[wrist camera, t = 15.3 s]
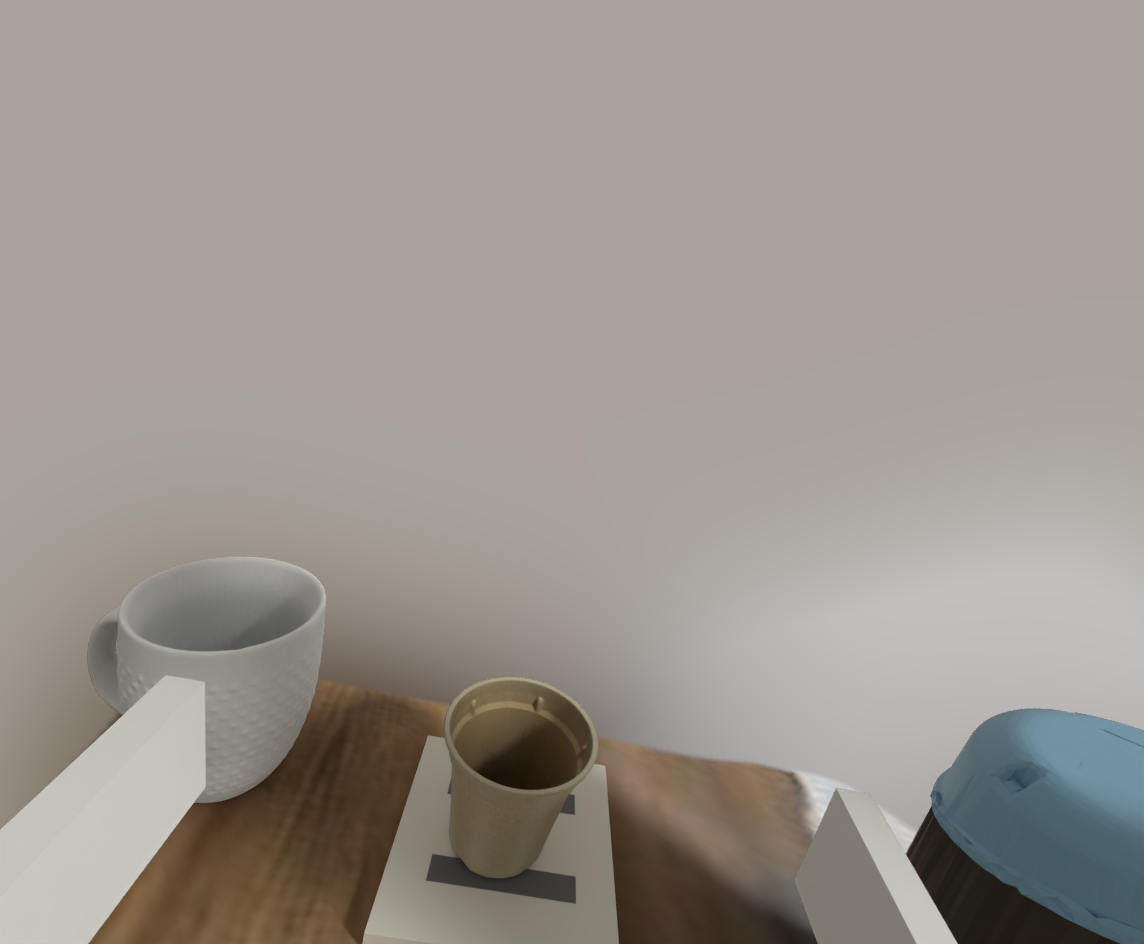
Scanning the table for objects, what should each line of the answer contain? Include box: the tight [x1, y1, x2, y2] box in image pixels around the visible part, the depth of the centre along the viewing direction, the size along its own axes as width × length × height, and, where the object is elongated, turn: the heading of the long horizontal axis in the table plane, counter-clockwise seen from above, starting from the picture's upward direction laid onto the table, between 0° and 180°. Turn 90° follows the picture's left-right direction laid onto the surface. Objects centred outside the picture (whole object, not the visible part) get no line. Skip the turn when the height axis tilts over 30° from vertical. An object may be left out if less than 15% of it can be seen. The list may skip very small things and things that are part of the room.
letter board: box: [363, 735, 619, 944], centre depth 37 cm, size 14×14×1 cm
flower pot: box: [444, 677, 598, 878], centre depth 35 cm, size 9×9×9 cm
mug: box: [87, 556, 326, 803], centre depth 37 cm, size 15×11×13 cm
